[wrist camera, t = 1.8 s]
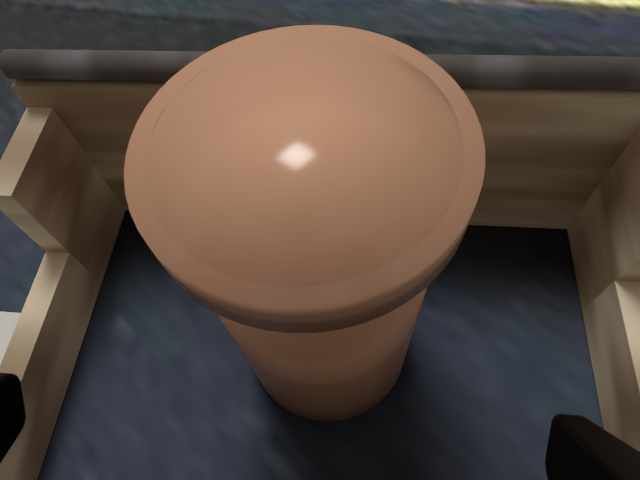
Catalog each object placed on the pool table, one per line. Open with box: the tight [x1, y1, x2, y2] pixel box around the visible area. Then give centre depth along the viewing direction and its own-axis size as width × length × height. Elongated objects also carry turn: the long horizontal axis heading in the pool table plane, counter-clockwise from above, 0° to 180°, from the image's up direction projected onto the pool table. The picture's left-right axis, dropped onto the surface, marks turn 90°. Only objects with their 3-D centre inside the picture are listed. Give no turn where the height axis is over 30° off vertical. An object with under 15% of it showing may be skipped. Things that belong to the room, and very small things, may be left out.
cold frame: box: [0, 49, 640, 480], centre depth 17 cm, size 16×23×9 cm
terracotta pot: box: [124, 25, 485, 422], centre depth 16 cm, size 7×7×12 cm
